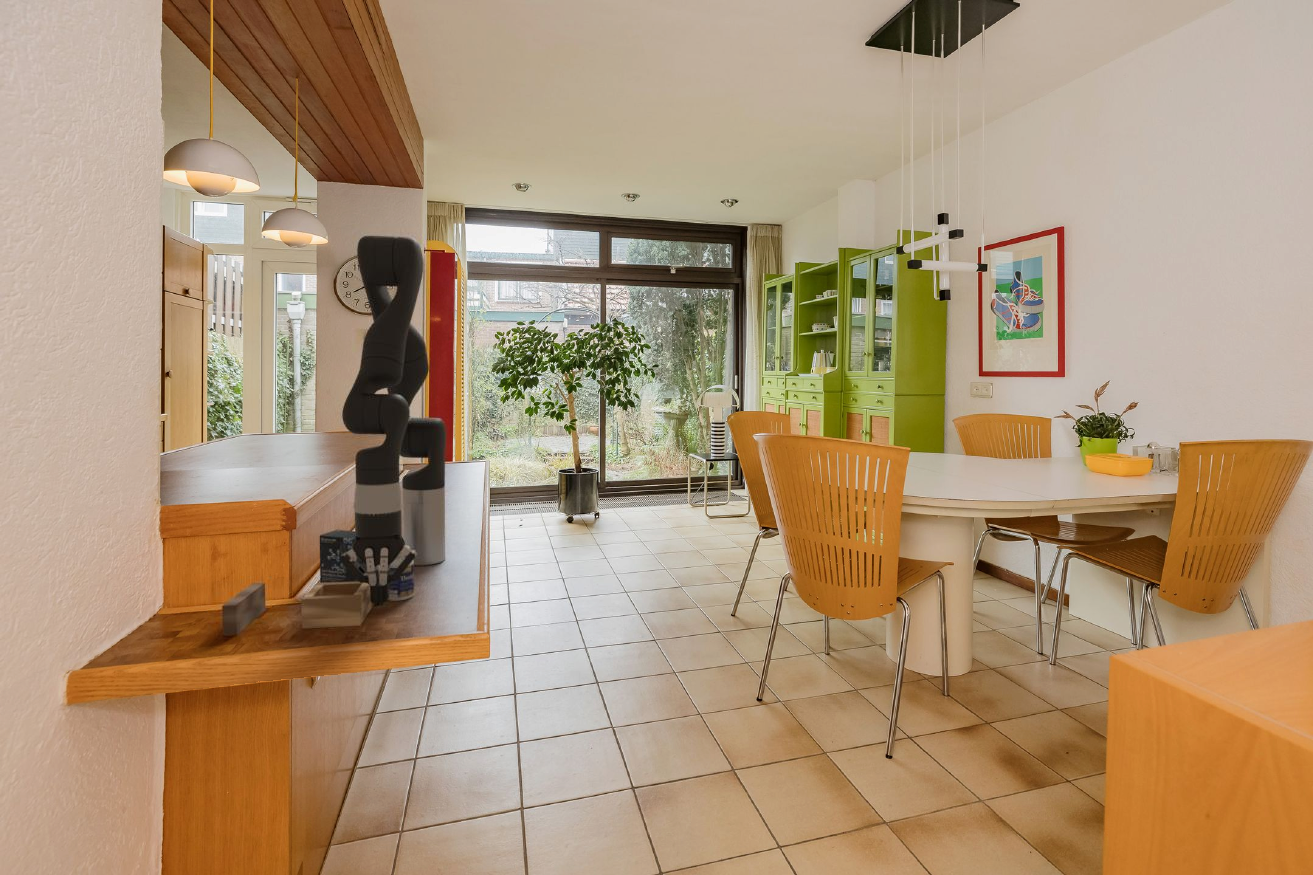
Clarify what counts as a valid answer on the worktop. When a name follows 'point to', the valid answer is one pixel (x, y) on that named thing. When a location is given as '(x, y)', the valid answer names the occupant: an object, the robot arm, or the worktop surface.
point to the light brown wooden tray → (336, 605)
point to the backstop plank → (243, 609)
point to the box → (336, 556)
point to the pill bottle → (402, 581)
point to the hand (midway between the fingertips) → (379, 604)
